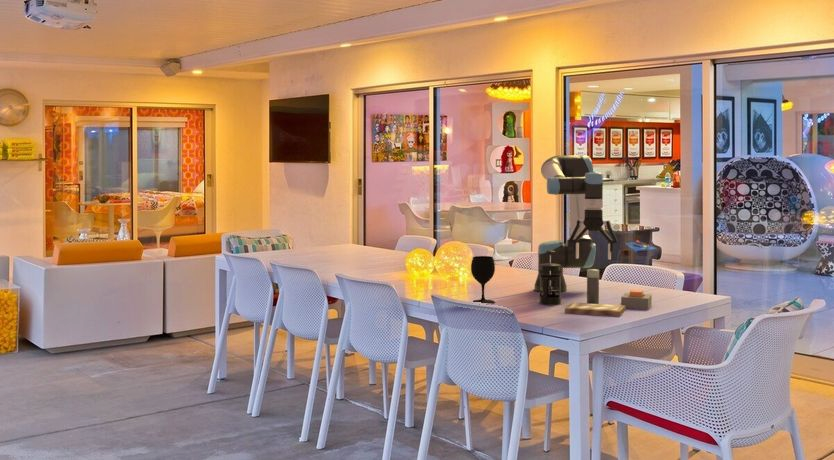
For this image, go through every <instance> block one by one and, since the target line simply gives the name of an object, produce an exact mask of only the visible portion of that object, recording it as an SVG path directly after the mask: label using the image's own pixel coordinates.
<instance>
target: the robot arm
mask: <svg viewBox="0 0 834 460" xmlns="http://www.w3.org/2000/svg"><path fill="white" fill-rule="evenodd" d="M540 174H541V175H542V177H543V178H544V179H545V180H546V192H547V194H548V195H554V196H557V195H568V199H569V200H568V202H569V203H568V204H569V207H568V209H569V235H570V236H569V237H568V238H567V240H566V243H564V241H563V240H549V241H544V242H542V243H540V244H538V247H537V248H538V250H537V254H538V255H537V256H538V257H537V259H538V262H537V263H538V264H537V265H538V266H537V268H538V269H537V277H536V280H535V283H534V286H533V287H534V291H536V292H539V293H540V275H548V274H550V271H544V270H541V266H540V264H545V263H550V255H549V252H545V251H548V250H552V251H555V252H552V253H551V263H555V264H560V265H561V266H560V270H558V271H551V275H560V276H561V293H562V292H566V291H567V289H568V287H567V286H568V285H567V282H566V279H565V276H564V269H591V267H593V266H594V264H595V260H596V252H597V248H596V247H597V245H596V243H594V242H593V239H592V238H591V237H590V235H589V232H592V231H594V232H598V231H599V232H600V233H601V235H602V236H603V237H604V238H605V240H607V242H608V244H607V260H609V261H610V260H611V259H612V253H613V252H614V244H616V243H618V241H619V240H618V237H617V236H616V234H615V232H614V230H613V227H612V225H611V224H612V223H611V220H603V219H604V218H603V217H604V215H603V213H604V210H603V205H604V203H603V202H604V201H603V200H604V198H603V197H604V196H603V194H604V191H603V189H604V187H603V186H604V179H603V178H604V177H603V176H604V175H603V173H602V172H594V165H593V162H592V159H591V157H590V156H588V155H583V154H577V155H576V154H575V155H561V154H560V155H555V156H552V157H549V158H547V159H546V160H545V161H544V162H543V163H542V164H541V168H540ZM603 225H604V226H606V228H607V230H608V232H609V233H610V236H609V234H608V233H607V232H606V230H605V229H604V227H603ZM611 237H612V238H611ZM549 286H550V280H549ZM551 287H552V280H551ZM542 288H543V280H542ZM556 288H559V280H556ZM542 293H543V291H542ZM549 293H552V291H549ZM556 293H559V291H556Z"/></svg>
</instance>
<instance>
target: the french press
mask: <svg viewBox="0 0 834 460" xmlns="http://www.w3.org/2000/svg"><path fill="white" fill-rule="evenodd" d="M545 252H549V255H550V263H545V264H540V266H541V270H544V271H550V274H548V275H540V292H539V302H538V303H539V304H540V305H543V306H559V305H562V300H561V299H562V297H561V295H562V292H561V276H560V275H551V271H558V270H560V266H561V265H560V264H555V263H551V253H552V252H555V251H552V250H548V251H545ZM542 280H543V288H542ZM549 280H550V286H549ZM551 280H552V287H551ZM556 280H559V288H556ZM542 291H543V292H542ZM549 291H552V292H551V293H550V292H549ZM556 291H559V292H558V294H557V292H556Z"/></svg>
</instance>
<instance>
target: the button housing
mask: <svg viewBox="0 0 834 460" xmlns="http://www.w3.org/2000/svg"><path fill="white" fill-rule="evenodd" d="M652 295H653V294H652V293H644V294H643V297H630V292H626V293H624V294H623V295H622V296H621V297H620V298H621V299H620V305H624V306H625V309H633V310H634V309H635V310H638V309H639V310H649V309H650V308H651V306H652V300H653V299H652Z"/></svg>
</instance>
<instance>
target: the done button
mask: <svg viewBox="0 0 834 460" xmlns="http://www.w3.org/2000/svg"><path fill="white" fill-rule="evenodd" d="M629 293H630V297H643V294H645V293H644V289H642V290H641V289H630V291H629Z"/></svg>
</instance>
